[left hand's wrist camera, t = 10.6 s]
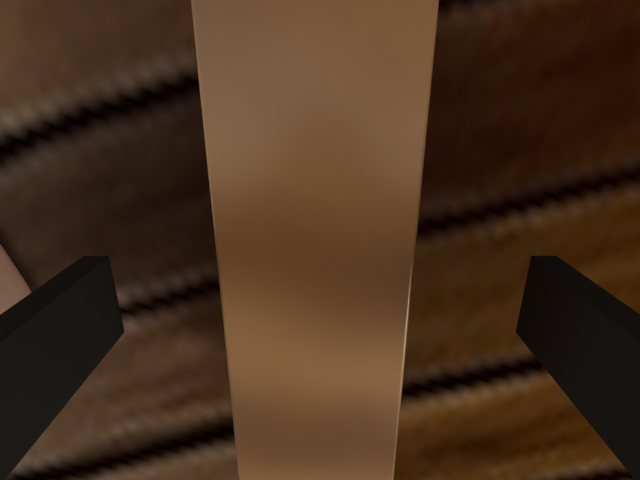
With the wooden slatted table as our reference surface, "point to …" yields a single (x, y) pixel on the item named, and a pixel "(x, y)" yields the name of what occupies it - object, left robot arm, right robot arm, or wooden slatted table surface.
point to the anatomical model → (10, 283)
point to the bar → (315, 221)
